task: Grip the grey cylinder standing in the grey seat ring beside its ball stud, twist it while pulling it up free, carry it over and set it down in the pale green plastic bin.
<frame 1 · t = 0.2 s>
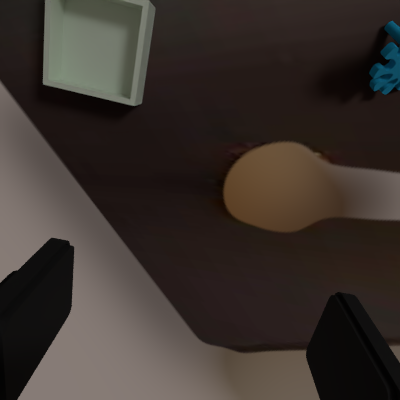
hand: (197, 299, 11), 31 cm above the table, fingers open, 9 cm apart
bin: (104, 47, 36), on the table
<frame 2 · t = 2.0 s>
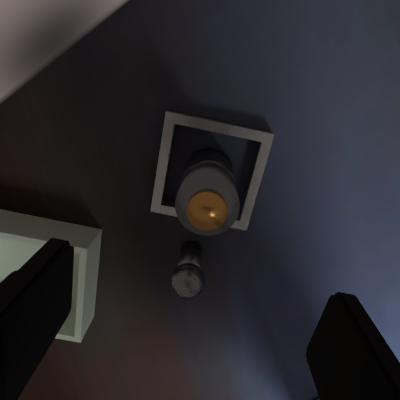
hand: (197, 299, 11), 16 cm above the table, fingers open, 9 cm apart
bin: (45, 265, 30), on the table
seat: (209, 171, 26), on the table
grey cylinder: (209, 170, 26), resting in seat
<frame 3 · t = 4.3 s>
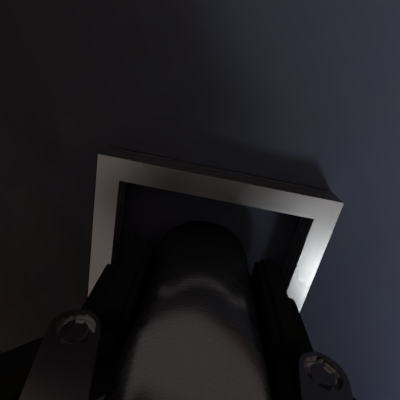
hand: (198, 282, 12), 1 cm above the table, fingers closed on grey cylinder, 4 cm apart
seat: (199, 263, 13), on the table
grey cylinder: (199, 263, 13), resting in seat, touching gripper
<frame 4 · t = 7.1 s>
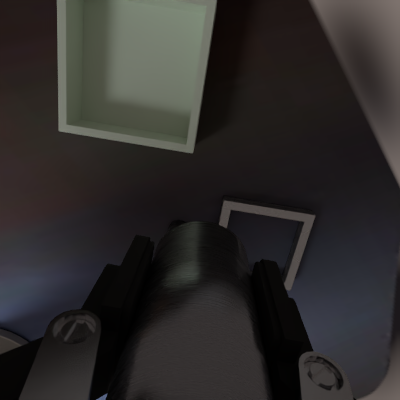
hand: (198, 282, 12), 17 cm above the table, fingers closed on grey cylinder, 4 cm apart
bin: (142, 71, 25), on the table
seat: (257, 241, 31), on the table
grey cylinder: (200, 263, 13), point 16 cm above the table, touching gripper
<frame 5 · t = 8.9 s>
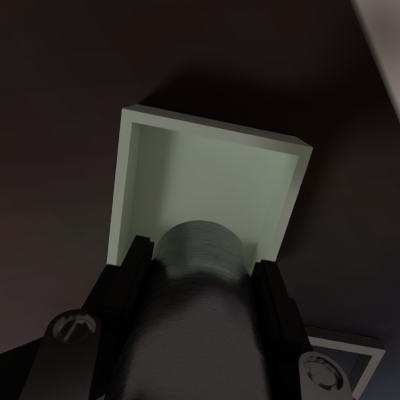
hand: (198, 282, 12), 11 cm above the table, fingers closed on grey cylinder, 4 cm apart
bin: (201, 195, 22), on the table
seat: (313, 366, 27), on the table
grey cylinder: (200, 262, 13), point 9 cm above the table, touching gripper
when the fingers open (3 cm above the table, at t = 10.3 s): grey cylinder drops 1 cm, resting on bin.
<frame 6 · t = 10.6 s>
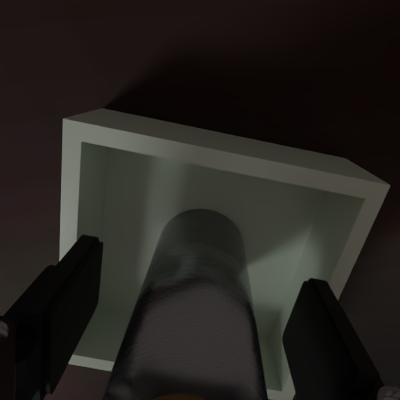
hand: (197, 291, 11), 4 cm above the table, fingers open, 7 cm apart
bin: (201, 240, 15), on the table
grey cylinder: (201, 247, 14), point 1 cm above the table, touching bin
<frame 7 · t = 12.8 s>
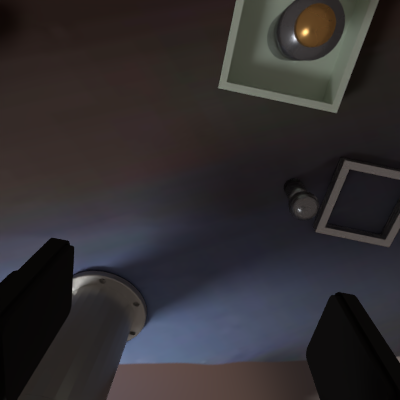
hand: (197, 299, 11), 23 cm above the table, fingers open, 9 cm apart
bin: (288, 36, 28), on the table
seat: (363, 201, 34), on the table
grey cylinder: (289, 36, 27), point 1 cm above the table, touching bin
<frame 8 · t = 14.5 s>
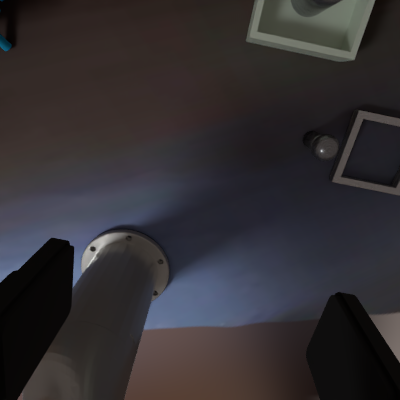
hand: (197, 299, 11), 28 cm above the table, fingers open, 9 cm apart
seat: (375, 152, 37), on the table
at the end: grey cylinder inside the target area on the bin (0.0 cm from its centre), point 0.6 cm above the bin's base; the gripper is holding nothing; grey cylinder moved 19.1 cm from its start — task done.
